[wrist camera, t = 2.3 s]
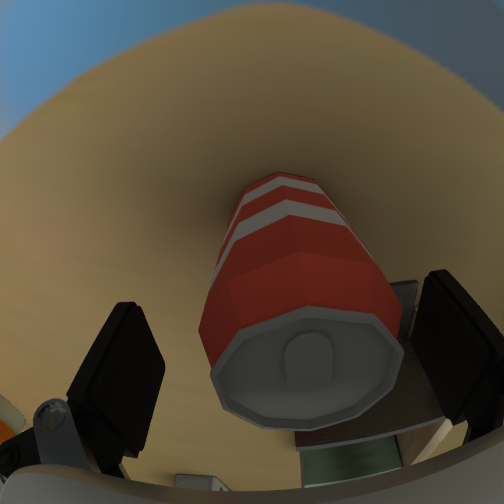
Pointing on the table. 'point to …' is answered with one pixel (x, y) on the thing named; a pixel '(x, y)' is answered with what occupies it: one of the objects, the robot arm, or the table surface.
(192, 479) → the hard drive box
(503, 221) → the table surface
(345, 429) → the bookend
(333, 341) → the beverage can
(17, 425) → the reusable coffee cup
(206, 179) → the table surface
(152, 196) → the table surface
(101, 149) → the table surface
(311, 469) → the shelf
